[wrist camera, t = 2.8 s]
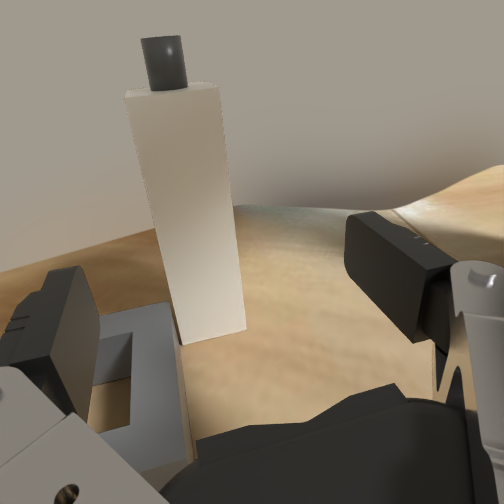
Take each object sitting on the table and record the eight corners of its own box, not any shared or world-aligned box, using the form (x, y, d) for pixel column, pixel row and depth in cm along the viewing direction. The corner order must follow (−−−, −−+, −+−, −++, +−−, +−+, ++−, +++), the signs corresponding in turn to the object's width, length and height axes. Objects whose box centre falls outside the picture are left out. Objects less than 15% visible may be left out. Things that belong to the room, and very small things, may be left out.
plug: (177, 306, 29) (116, 42, 20) (233, 293, 30) (199, 35, 21) (182, 345, 25) (110, 40, 16) (246, 329, 26) (212, 31, 17)
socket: (9, 380, 24) (-14, 340, 22) (178, 339, 26) (169, 300, 24) (-76, 592, 14) (-128, 552, 13) (199, 503, 16) (186, 458, 15)
